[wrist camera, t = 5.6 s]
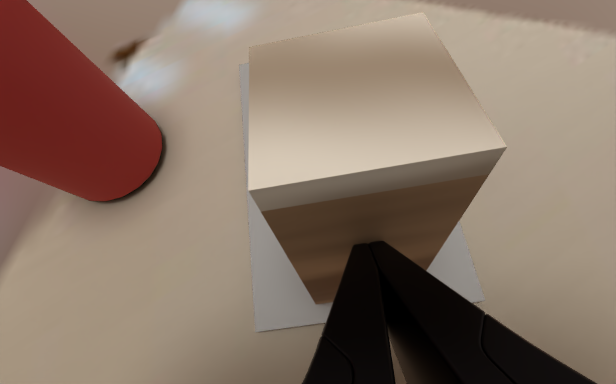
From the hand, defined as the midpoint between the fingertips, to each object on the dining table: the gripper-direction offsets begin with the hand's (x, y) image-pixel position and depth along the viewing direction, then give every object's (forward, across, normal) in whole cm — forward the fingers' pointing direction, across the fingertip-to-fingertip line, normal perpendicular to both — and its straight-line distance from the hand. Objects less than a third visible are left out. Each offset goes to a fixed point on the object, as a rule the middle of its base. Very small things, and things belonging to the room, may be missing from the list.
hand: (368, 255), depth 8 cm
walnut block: (+5, 0, +4) cm, 7 cm away
